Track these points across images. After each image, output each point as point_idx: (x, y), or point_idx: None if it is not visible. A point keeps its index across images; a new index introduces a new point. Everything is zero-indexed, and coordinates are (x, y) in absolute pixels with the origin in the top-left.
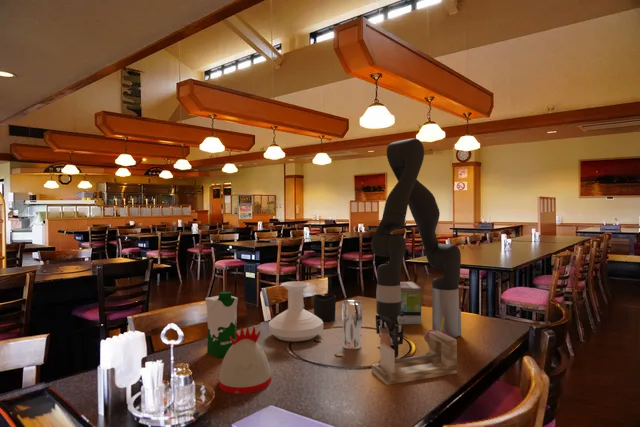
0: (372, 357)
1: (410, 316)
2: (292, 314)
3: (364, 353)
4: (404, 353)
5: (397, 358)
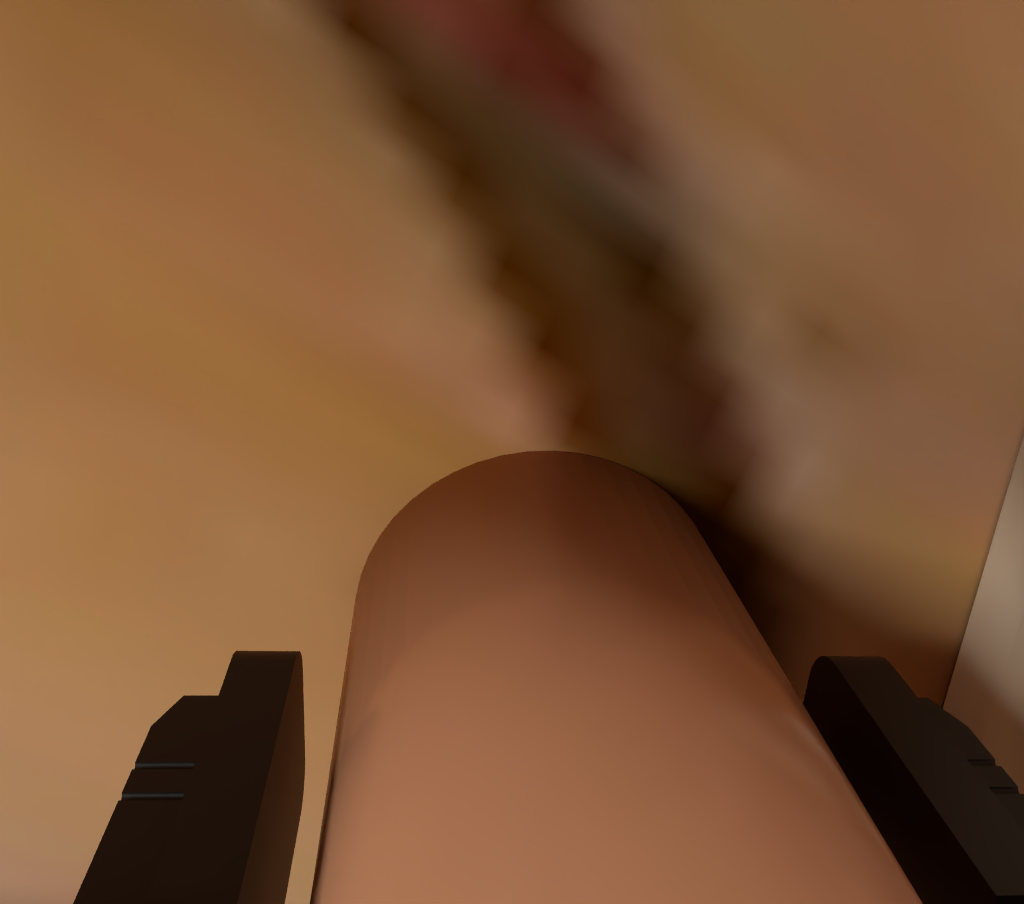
0: None
1: None
2: None
3: (19, 877)
4: (283, 45)
5: (699, 535)
